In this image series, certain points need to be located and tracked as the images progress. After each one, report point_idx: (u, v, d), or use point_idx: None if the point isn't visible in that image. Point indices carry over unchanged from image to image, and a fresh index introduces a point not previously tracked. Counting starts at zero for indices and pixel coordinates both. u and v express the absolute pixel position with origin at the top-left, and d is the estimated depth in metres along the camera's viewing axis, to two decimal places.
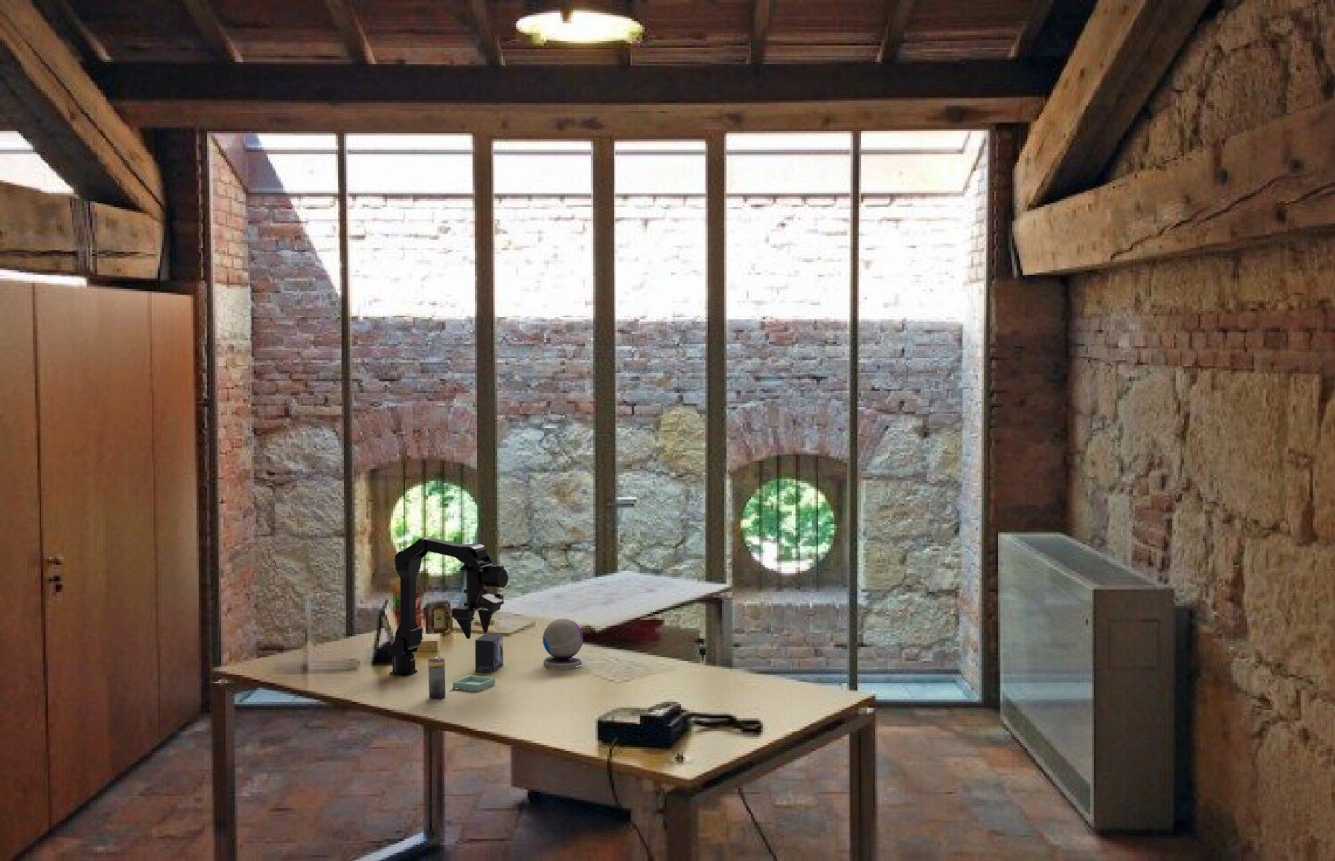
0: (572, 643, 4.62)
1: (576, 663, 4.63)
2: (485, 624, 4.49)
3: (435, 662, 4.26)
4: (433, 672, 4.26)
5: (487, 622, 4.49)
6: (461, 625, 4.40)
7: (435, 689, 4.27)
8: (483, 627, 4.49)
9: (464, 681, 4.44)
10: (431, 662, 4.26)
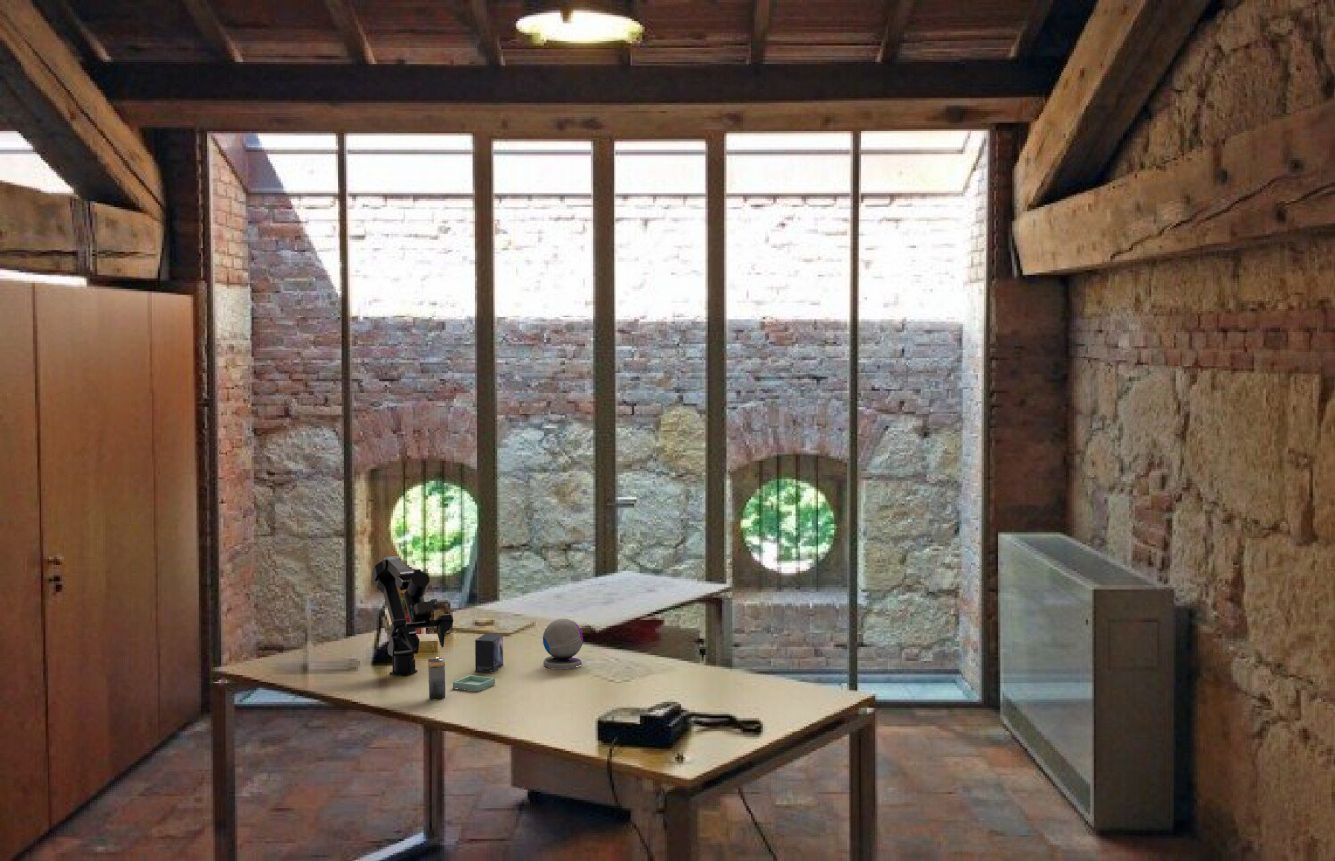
0: (572, 643, 4.62)
1: (576, 663, 4.63)
2: (441, 639, 4.38)
3: (435, 662, 4.26)
4: (433, 672, 4.26)
5: (441, 636, 4.38)
6: (404, 641, 4.35)
7: (435, 689, 4.27)
8: (440, 643, 4.38)
9: (464, 681, 4.44)
10: (431, 662, 4.26)
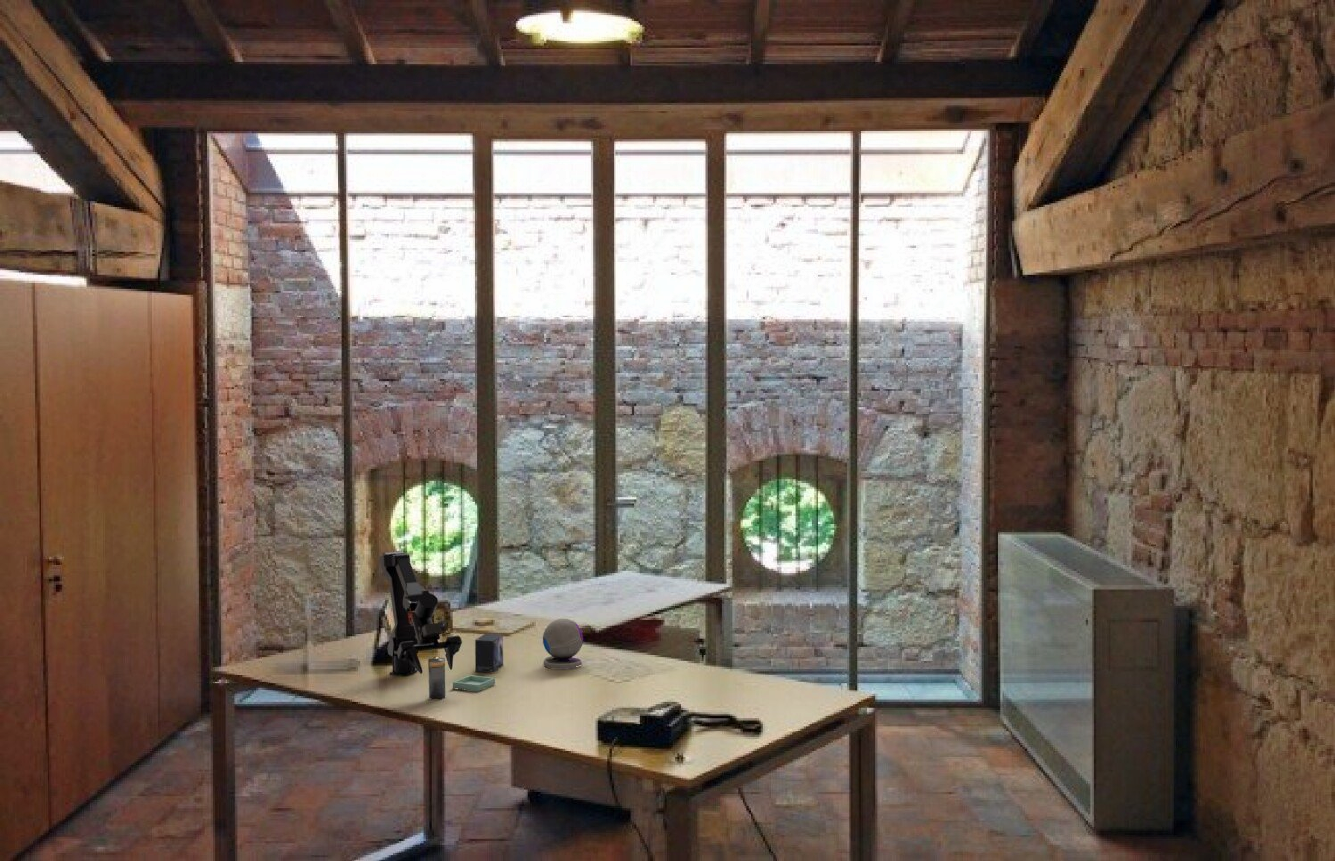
0: (572, 643, 4.62)
1: (576, 663, 4.63)
2: (449, 661, 4.32)
3: (435, 662, 4.26)
4: (433, 672, 4.26)
5: (449, 658, 4.32)
6: (412, 664, 4.29)
7: (435, 689, 4.27)
8: (449, 665, 4.32)
9: (464, 681, 4.44)
10: (431, 662, 4.26)
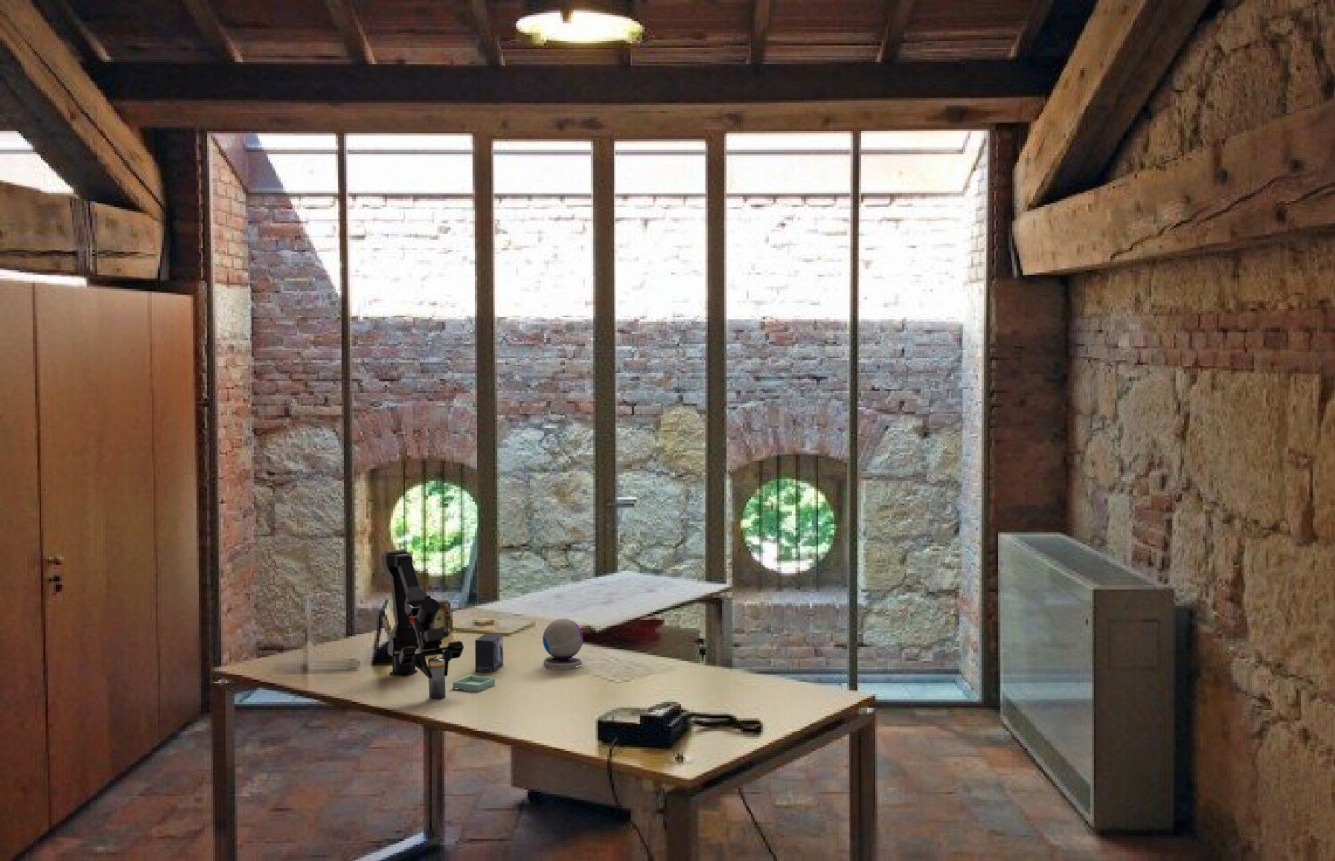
0: (572, 643, 4.62)
1: (576, 663, 4.63)
2: None
3: (435, 662, 4.26)
4: (433, 672, 4.26)
5: None
6: (420, 668, 4.29)
7: (435, 689, 4.27)
8: None
9: (464, 681, 4.44)
10: (431, 662, 4.26)
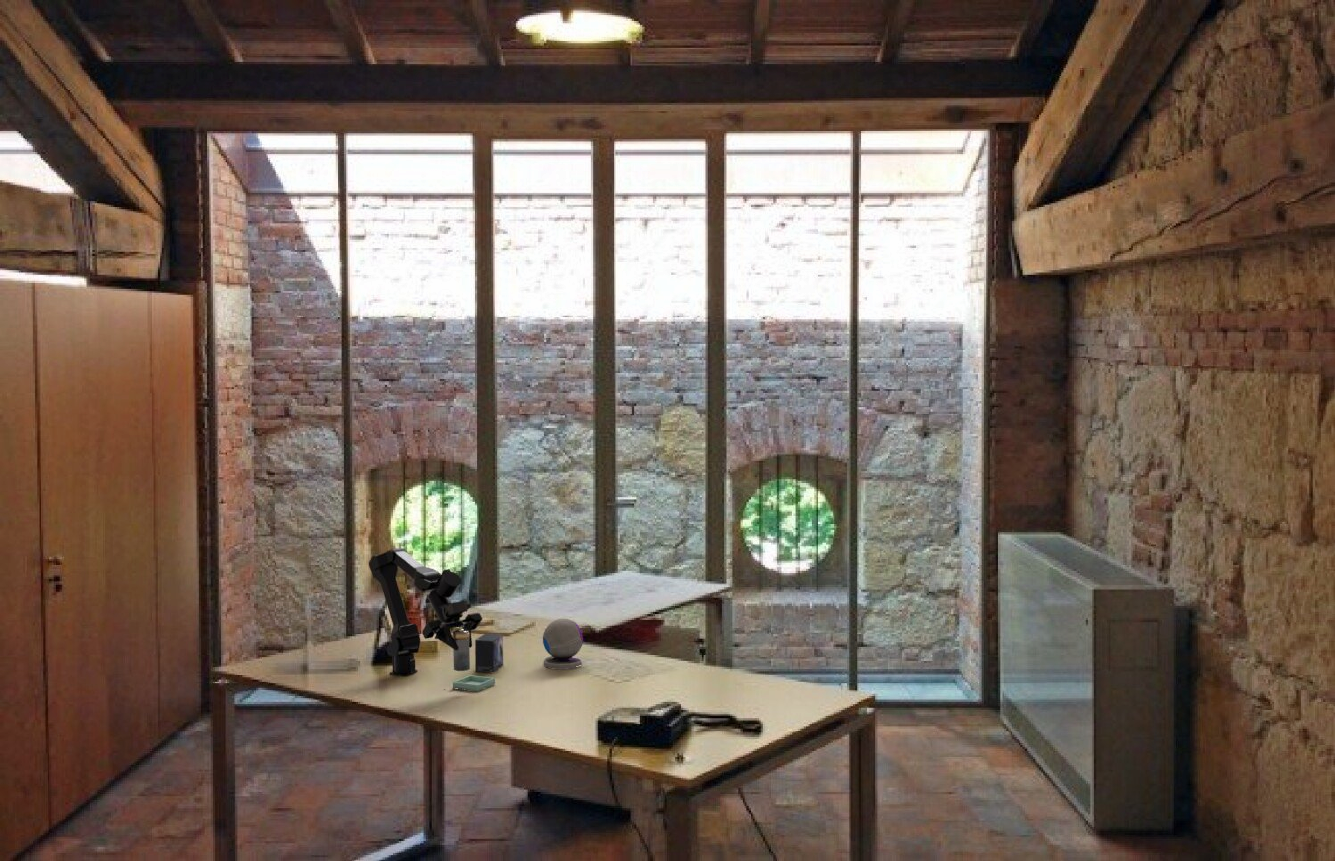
0: (572, 643, 4.62)
1: (576, 663, 4.63)
2: None
3: (462, 634, 4.33)
4: (460, 643, 4.33)
5: None
6: (445, 641, 4.34)
7: (461, 661, 4.33)
8: None
9: (464, 681, 4.44)
10: (458, 634, 4.33)
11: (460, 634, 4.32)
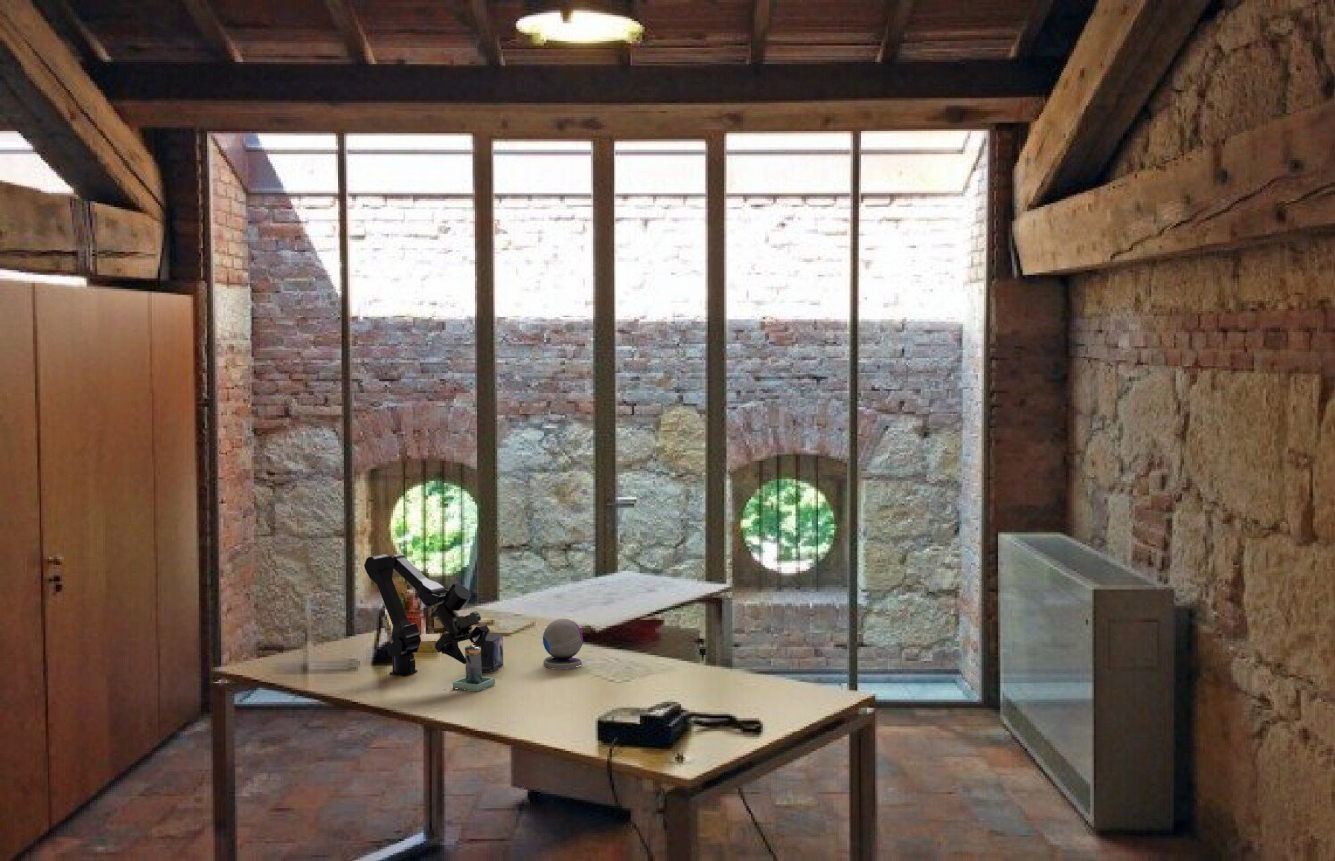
0: (572, 643, 4.62)
1: (576, 663, 4.63)
2: (483, 650, 4.44)
3: (475, 650, 4.38)
4: (473, 659, 4.38)
5: (483, 647, 4.44)
6: (452, 655, 4.37)
7: (475, 676, 4.39)
8: (483, 654, 4.44)
9: (464, 681, 4.44)
10: (471, 650, 4.38)
11: (473, 650, 4.38)
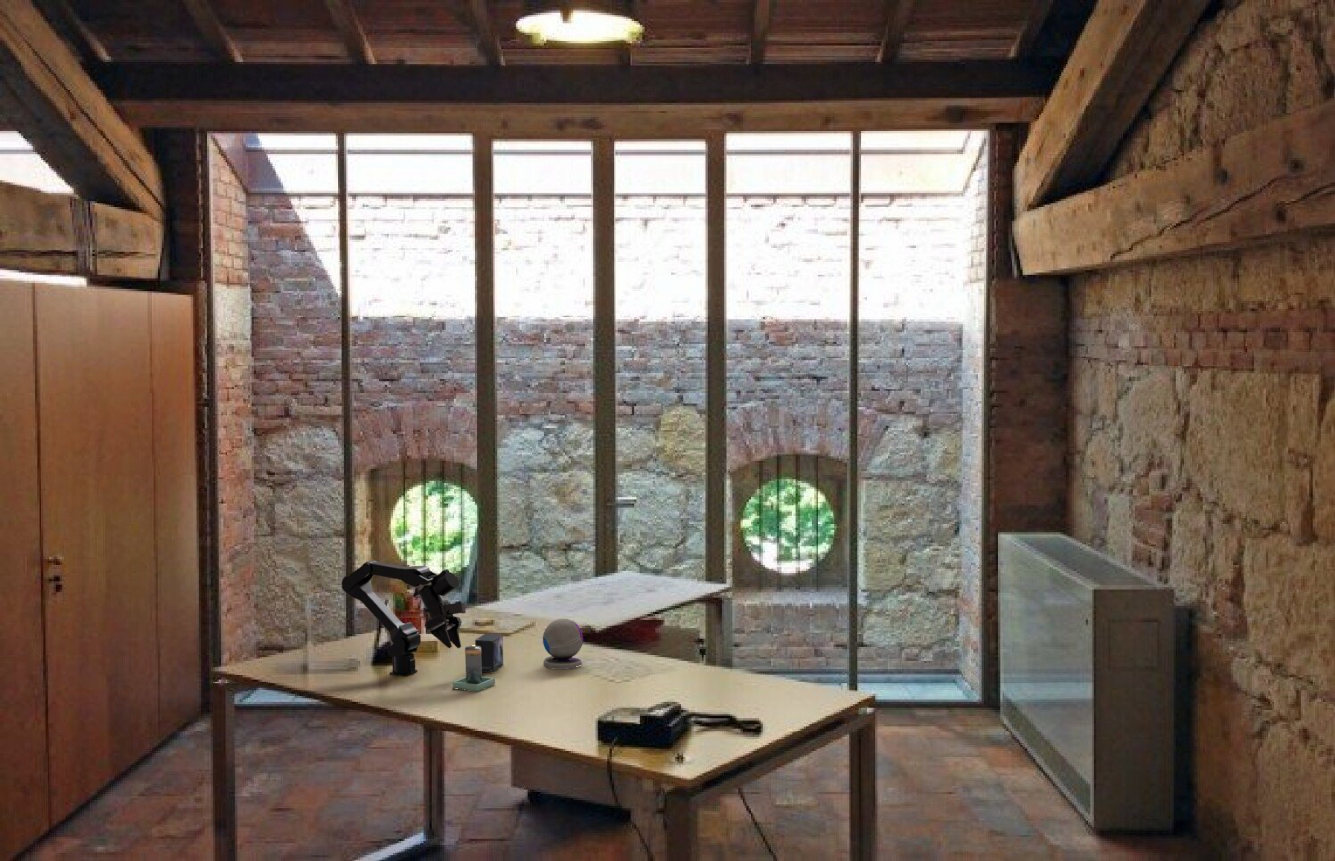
0: (572, 643, 4.62)
1: (576, 663, 4.63)
2: (456, 640, 4.54)
3: (475, 650, 4.38)
4: (473, 659, 4.38)
5: (457, 637, 4.54)
6: (438, 637, 4.44)
7: (475, 676, 4.39)
8: (455, 643, 4.53)
9: (464, 681, 4.44)
10: (471, 650, 4.38)
11: (473, 650, 4.38)
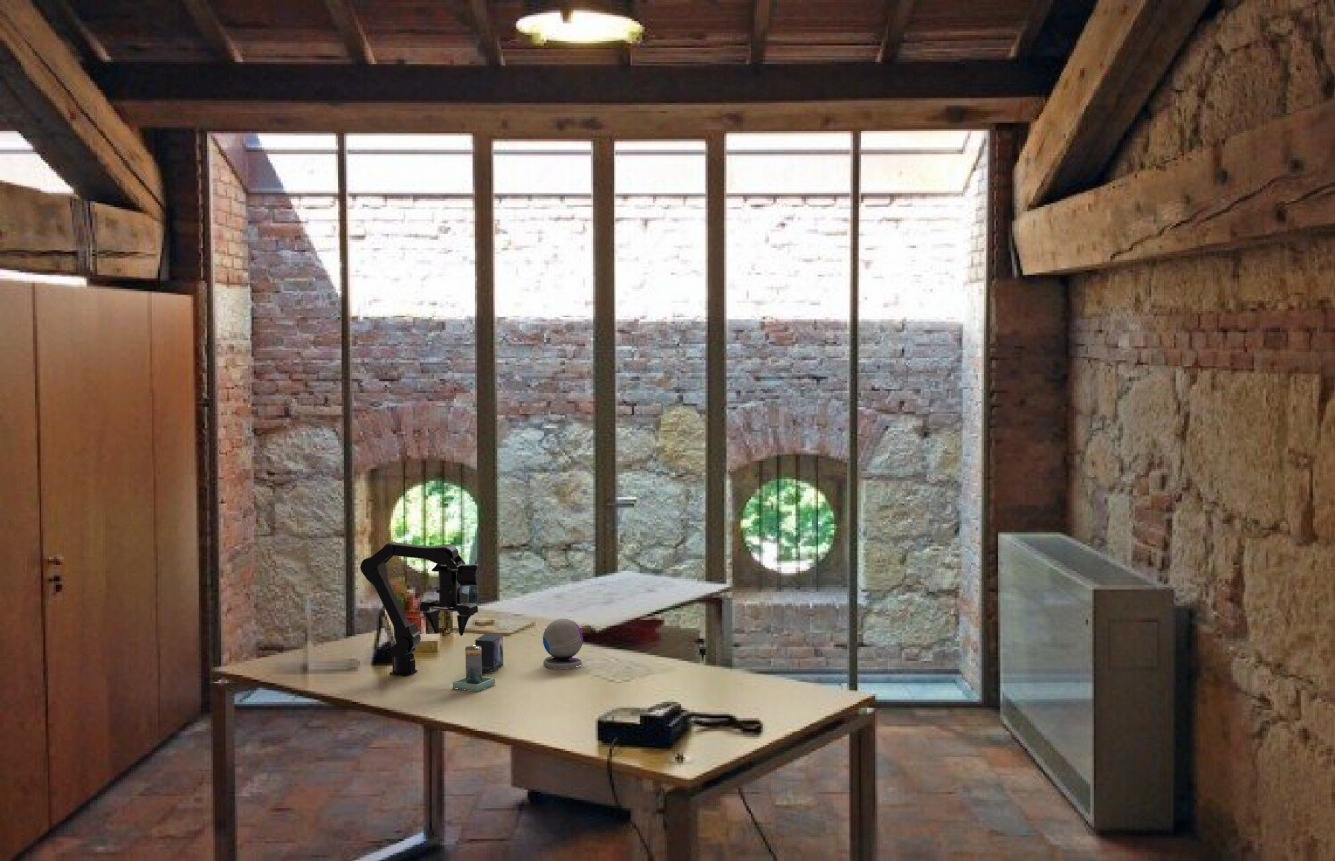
0: (572, 643, 4.62)
1: (576, 663, 4.63)
2: (436, 625, 4.57)
3: (476, 650, 4.38)
4: (474, 659, 4.38)
5: (438, 622, 4.57)
6: (462, 623, 4.51)
7: (475, 676, 4.39)
8: (436, 628, 4.56)
9: (464, 681, 4.44)
10: (471, 650, 4.38)
11: (474, 650, 4.38)
